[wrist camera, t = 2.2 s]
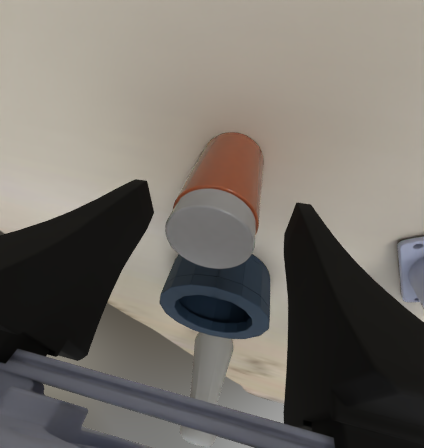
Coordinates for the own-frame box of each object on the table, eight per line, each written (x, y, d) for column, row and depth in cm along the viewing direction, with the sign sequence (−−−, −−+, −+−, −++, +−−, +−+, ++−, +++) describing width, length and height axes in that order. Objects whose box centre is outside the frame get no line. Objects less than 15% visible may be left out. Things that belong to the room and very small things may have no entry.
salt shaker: (193, 325, 35) (163, 434, 25) (210, 316, 31) (183, 441, 22) (222, 338, 36) (204, 447, 27) (243, 331, 32) (230, 455, 23)
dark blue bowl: (244, 231, 18) (237, 278, 14) (283, 294, 23) (285, 340, 20) (157, 253, 23) (137, 291, 19) (206, 301, 28) (197, 338, 25)
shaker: (247, 119, 12) (227, 188, 7) (273, 177, 14) (272, 263, 9) (191, 149, 14) (143, 220, 9) (220, 196, 16) (196, 275, 11)
